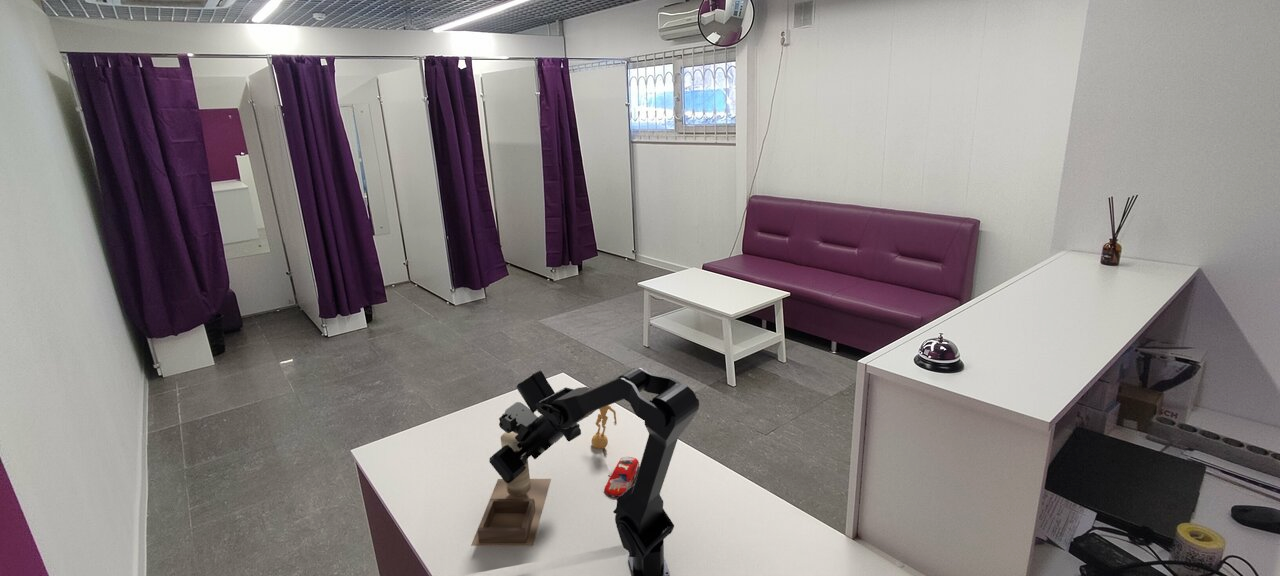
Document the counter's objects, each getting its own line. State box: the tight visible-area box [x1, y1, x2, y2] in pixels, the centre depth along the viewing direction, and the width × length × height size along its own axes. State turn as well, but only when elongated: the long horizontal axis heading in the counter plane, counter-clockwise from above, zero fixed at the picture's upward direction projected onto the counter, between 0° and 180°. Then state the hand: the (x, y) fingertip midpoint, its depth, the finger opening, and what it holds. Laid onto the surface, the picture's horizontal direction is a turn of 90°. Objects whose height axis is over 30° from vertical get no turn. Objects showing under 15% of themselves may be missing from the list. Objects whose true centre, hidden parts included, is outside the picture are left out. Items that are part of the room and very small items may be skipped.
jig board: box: [470, 478, 552, 547], centre depth 121 cm, size 20×12×4 cm, turn 178°
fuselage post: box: [500, 431, 531, 496], centre depth 123 cm, size 5×5×13 cm
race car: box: [603, 456, 640, 501], centre depth 130 cm, size 13×5×4 cm, turn 162°
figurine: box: [591, 405, 617, 450], centre depth 142 cm, size 8×6×12 cm
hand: (510, 461), depth 124 cm, fingers closed on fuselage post, 5 cm apart
